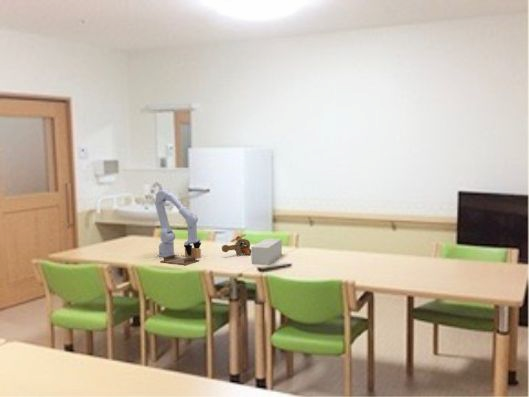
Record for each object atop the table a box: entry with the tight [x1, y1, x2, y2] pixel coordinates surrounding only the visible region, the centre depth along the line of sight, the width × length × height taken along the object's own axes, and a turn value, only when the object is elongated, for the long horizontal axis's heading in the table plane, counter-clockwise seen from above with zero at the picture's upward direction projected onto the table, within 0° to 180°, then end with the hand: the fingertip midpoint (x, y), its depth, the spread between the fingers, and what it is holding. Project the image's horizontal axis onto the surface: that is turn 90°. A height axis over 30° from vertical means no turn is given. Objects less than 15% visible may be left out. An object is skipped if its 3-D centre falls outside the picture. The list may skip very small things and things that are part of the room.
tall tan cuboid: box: [184, 247, 202, 260], centre depth 367 cm, size 10×4×6 cm, turn 60°
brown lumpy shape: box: [221, 234, 252, 257], centre depth 370 cm, size 8×21×14 cm, turn 123°
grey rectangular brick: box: [250, 238, 283, 266], centre depth 359 cm, size 32×11×11 cm, turn 164°
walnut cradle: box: [159, 254, 200, 267], centre depth 354 cm, size 20×14×3 cm
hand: (192, 254), depth 367 cm, fingers open, 7 cm apart
